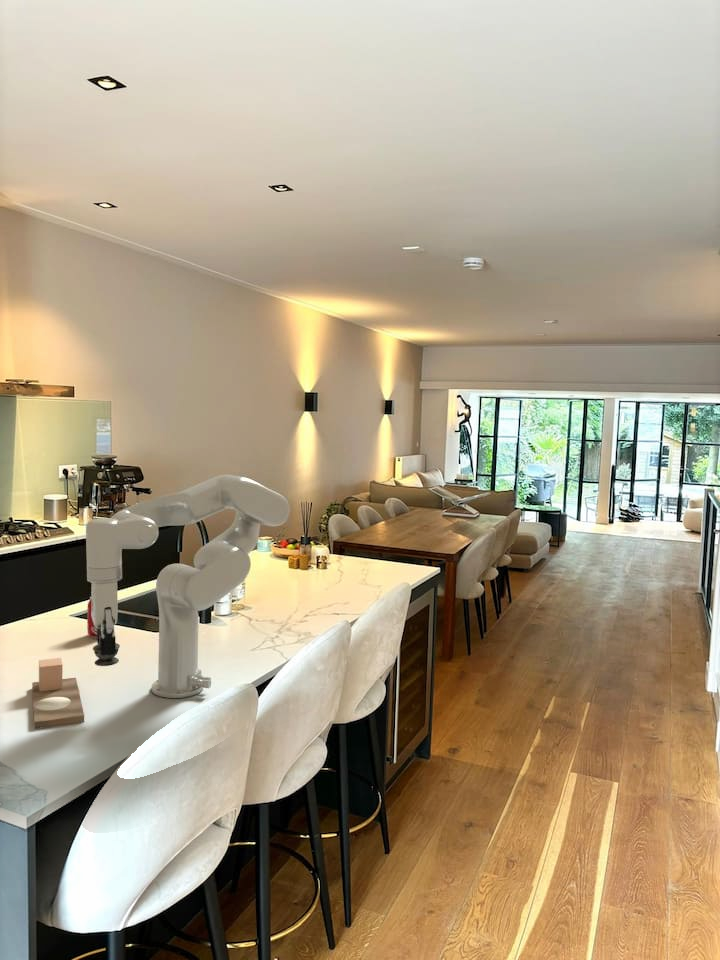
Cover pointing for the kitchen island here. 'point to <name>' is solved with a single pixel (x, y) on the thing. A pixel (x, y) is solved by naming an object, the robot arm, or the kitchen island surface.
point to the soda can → (91, 623)
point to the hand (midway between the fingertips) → (106, 648)
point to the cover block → (50, 674)
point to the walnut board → (57, 705)
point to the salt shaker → (104, 659)
